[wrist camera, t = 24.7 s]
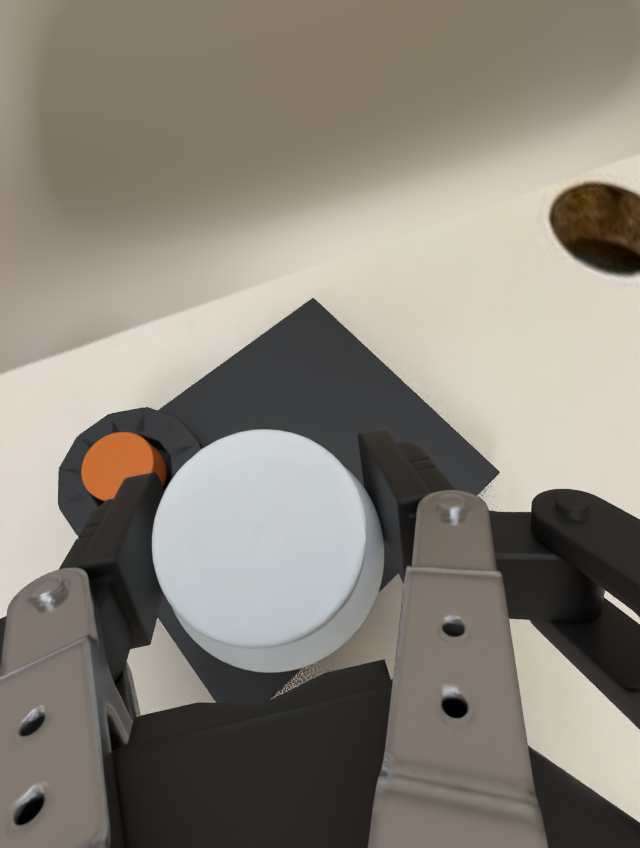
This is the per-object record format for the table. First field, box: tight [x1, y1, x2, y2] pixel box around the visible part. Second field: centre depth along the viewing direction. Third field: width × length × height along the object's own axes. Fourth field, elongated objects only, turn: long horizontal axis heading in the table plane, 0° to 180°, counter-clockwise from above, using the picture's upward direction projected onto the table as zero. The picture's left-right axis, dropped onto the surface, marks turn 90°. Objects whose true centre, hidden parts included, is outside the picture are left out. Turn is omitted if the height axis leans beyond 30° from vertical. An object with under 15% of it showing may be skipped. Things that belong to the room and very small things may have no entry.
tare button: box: [81, 432, 167, 501], centre depth 17 cm, size 3×3×2 cm
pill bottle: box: [152, 429, 384, 672], centre depth 13 cm, size 5×5×10 cm
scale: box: [58, 298, 500, 704], centre depth 19 cm, size 14×12×3 cm
